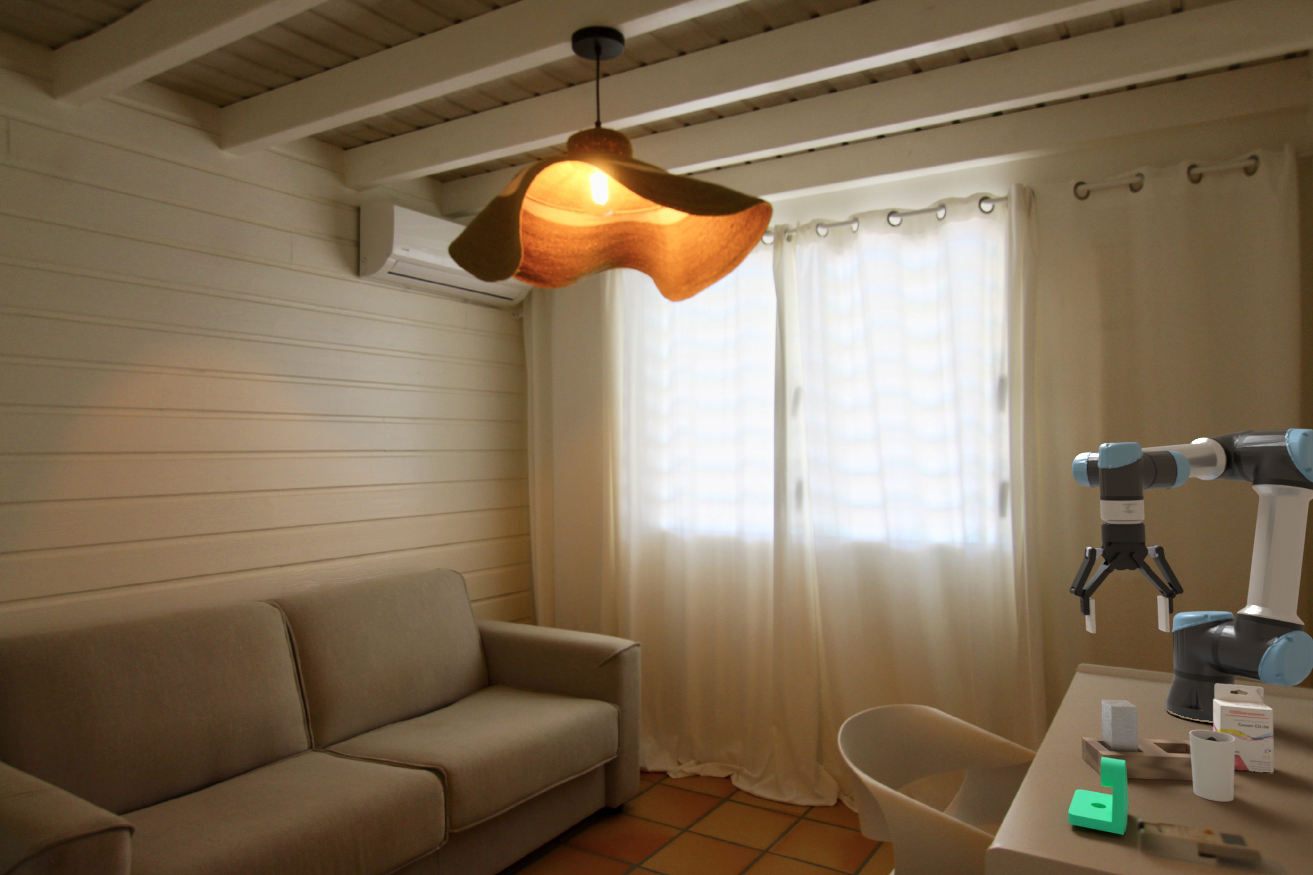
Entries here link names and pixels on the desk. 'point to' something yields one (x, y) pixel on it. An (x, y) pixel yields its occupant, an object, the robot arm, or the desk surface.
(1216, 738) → the white cup
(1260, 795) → the desk surface
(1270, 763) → the ink cartridge box
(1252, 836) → the desk surface
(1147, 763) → the brown holed block
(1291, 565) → the robot arm
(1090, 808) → the camera mount
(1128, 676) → the desk surface
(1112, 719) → the steel peg
